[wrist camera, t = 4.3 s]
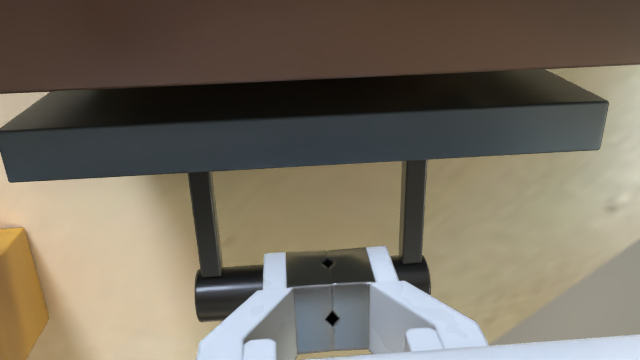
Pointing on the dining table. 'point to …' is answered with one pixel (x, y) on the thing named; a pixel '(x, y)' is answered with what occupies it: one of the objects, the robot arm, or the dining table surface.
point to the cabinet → (300, 40)
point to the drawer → (298, 142)
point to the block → (19, 297)
